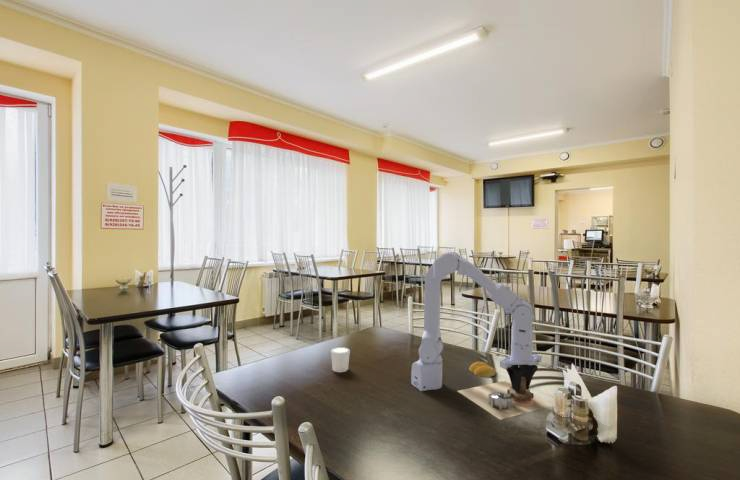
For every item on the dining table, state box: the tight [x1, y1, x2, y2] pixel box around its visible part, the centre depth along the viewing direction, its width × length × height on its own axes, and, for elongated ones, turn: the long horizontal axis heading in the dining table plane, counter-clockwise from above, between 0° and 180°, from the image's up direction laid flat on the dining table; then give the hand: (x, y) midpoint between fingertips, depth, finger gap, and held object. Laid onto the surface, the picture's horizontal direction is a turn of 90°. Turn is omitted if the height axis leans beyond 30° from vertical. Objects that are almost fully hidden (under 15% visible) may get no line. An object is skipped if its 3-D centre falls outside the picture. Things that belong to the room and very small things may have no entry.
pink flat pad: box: [513, 398, 534, 407], centre depth 103 cm, size 8×8×1 cm
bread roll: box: [469, 361, 496, 378], centre depth 124 cm, size 8×9×4 cm
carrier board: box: [457, 380, 554, 421], centre depth 104 cm, size 20×18×1 cm
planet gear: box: [507, 377, 534, 401], centre depth 103 cm, size 7×7×5 cm
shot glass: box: [330, 346, 351, 373], centre depth 127 cm, size 7×7×7 cm
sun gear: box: [488, 391, 513, 411], centre depth 100 cm, size 7×7×3 cm
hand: (520, 389), depth 103 cm, fingers closed on planet gear, 3 cm apart
